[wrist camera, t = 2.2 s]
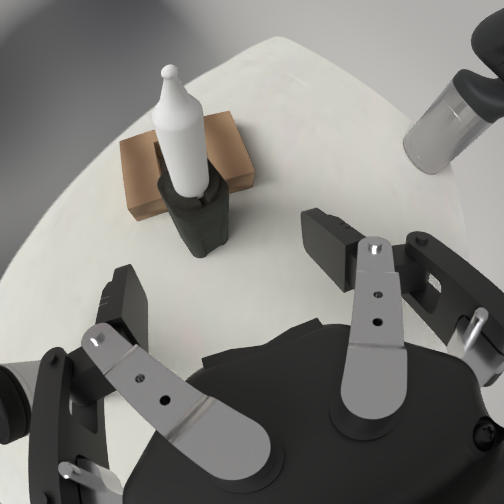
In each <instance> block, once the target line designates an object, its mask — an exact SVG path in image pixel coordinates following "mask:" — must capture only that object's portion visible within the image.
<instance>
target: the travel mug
mask: <svg viewBox="0 0 504 504" xmlns="http://www.w3.org/2000/svg"><path fill="white" fill-rule="evenodd" d="M40 361H41V360H38V361H29V362H19V363H7V364H0V444H2V445H6V444H8V443H11V442H13V441H15V440H18V439H19V438H22V437H26V436H28V435H30V423H31V413H32V405H33V398H34V392H35V386H36V380H37V375H38V370H39V365H40ZM104 397H105V396H104ZM69 409H70V413H71V415H72V401H71V400H70V404H69Z"/></svg>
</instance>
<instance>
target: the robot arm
mask: <svg viewBox="0 0 504 504" xmlns="http://www.w3.org/2000/svg"><path fill="white" fill-rule="evenodd" d="M471 45H472V49H473V51H474V52H475V54H476V55H477V56H478V57H479V59H480V60H481V61H482V62H483V63H484V64H485V65H486V66H487V67H489V68H490V69H491V70H492V71H493V72H494V73H495V74H496V75H497V76H498V77H499V78H497V79H491V78H486V77H483V76H481V75H479V74H476V73H474V72H472V71H470V70H466V69H462V70H460V71H459V72H458V73H457V74H456V75H455V76H454V78H453V79H452V80H451V81H450V83H449V84H448V85H447V86H446V88H445V89H444V90H443V92H442V93H441V94H440V95H439V97H438V98H437V99H436V100H435V102H434V103H433V104H432V105H431V106H430V108H429V109H428V110H427V111H426V112H425V114H424V115H423V116H422V117H421V118H420V120H419V121H418V122H417V123H416V124H415V125H414V127H413V128H412V129H411V130H410V131H409V133H408V134H407V135H406V136H405V138H404V141H403V144H404V148H405V151H406V153H407V155H408V157H409V158H410V160H411V161H412V162H413V163H414V164H415V165H416V166H417V167H418V168H419V169H420V170H422V171H424V172H425V173H428V174H436V173H437V172H439V171H440V170H441V169H442V168H443V167H445V166H446V165H447V164H448V163H449V162H451V161H452V160H453V159H454V158H455V157H456V156H458V155H459V154H460V153H461V152H462V151H463V150H464V149H466V148H467V147H468V146H469V145H470V144H471V143H472V142H474V141H475V140H476V139H477V138H478V137H479V136H480V135H481V134H482V133H483V132H484V131H485V130H486V129H488V128H489V127H490V126H491V125H492V124H493V123H494V122H495V121H496V120H498V119H499V118H502V117H504V8H503V9H501V10H499V11H497V12H495V13H494V14H492V15H490V16H488V17H487V18H485V19H484V20H483V21H482V22H481V23H480V24H479V25H478V26H477V27H476V29H475V30H474V32H473V34H472V38H471ZM301 226H302V237H303V244H304V248H305V250H306V252H307V253H308V254H309V255H310V257H311V258H312V259H313V260H314V261H315V262H316V263H317V264H318V265H319V266H320V267H321V268H322V269H323V271H324V272H325V273H326V274H327V275H328V276H329V277H330V278H331V279H332V280H333V281H334V282H335V284H336V285H337V286H338V287H339V288H340V289H341V290H342V291H343V292H344V293H345V292H347V291H350V290H352V289H354V290H355V294H354V304H353V313H352V322H351V326H350V325H344V324H327V325H322V324H321V322H320V321H319V319H318V318H315V319H313V320H310V321H308V322H305V323H303V324H300V325H298V326H295V327H292V328H290V329H288V330H287V331H285V332H284V333H282V334H281V335H279V336H277V337H276V338H274V339H273V340H271V341H269V342H268V343H266V344H264V345H260V346H253V347H245V348H237V349H230V350H227V351H224V352H220V353H217V354H214V355H211V356H207V357H204V358H202V363H203V368H201V369H199V370H198V371H196V372H195V373H194V374H192V375H191V376H190V377H189V378H188V379H187V380H186V381H184V380H182V379H181V378H180V377H178V376H177V375H175V374H174V373H173V372H171V371H170V370H169V369H167V368H166V367H165V366H163V365H162V364H161V363H159V362H158V361H157V360H156V359H154V358H153V357H152V356H151V355H149V353H148V301H147V297H146V294H145V291H144V289H143V287H142V285H141V283H140V281H139V279H138V277H137V275H136V273H135V271H134V269H133V267H132V265H131V264H128V265H125V266H122V267H119V268H116V269H115V270H114V275H113V279H112V281H111V282H108V283H107V285H106V286H105V288H104V289H103V291H102V295H101V300H100V304H99V305H100V306H99V309H98V313H97V318H96V323H95V325H94V326H92V327H91V328H89V329H88V330H87V331H86V332H85V334H84V335H83V337H82V341H81V345H82V346H81V347H80V348H78V349H76V350H74V351H72V352H71V353H69V354H67V353H66V352H65V351H64V349H63V348H61V347H55V348H52V349H50V350H49V351H48V352H46V354H45V355H44V356H43V357H42V359H41V361H40V365H39V370H38V375H37V380H36V386H35V392H34V398H33V405H32V413H31V423H30V435H29V457H28V473H29V495H30V503H31V504H504V428H503V427H501V426H500V425H498V424H497V423H495V422H494V421H493V420H492V419H491V417H490V416H489V414H488V412H487V410H486V407H485V405H484V402H483V399H482V395H481V391H480V388H481V387H482V386H483V387H488V386H490V385H492V384H493V383H494V382H495V381H496V380H497V379H498V377H499V376H500V375H501V374H502V372H503V371H504V293H503V292H502V291H501V290H500V289H499V288H498V287H497V286H495V285H494V284H493V283H492V282H491V281H490V280H489V279H487V278H486V277H485V276H484V275H482V274H481V273H480V272H479V271H478V270H476V269H475V268H474V267H473V266H472V265H470V264H469V263H468V262H467V261H465V260H464V259H463V258H462V257H460V256H459V255H458V254H456V253H455V252H454V251H452V250H451V249H450V248H448V247H447V246H446V245H444V244H443V243H442V242H440V241H439V240H437V239H436V238H435V237H433V236H432V235H430V234H428V233H425V232H420V231H415V232H411V233H409V234H408V235H407V237H406V244H401V245H394V246H391V244H390V242H388V241H387V240H385V239H383V238H380V237H365V236H364V235H362V234H361V233H359V232H358V231H357V230H355V229H354V228H353V227H351V226H350V225H348V224H347V223H345V222H344V221H343V220H341V219H340V218H339V217H335V216H332V215H327V214H325V213H324V212H322V211H321V210H320V209H318V208H313V209H310V210H306V211H303V212H301ZM430 273H431V274H432V275H433V276H434V277H435V278H436V279H437V280H438V281H439V282H440V284H441V293H440V292H439V291H438V290H437V289H436V288H434V287H433V286H432V285H431V284H430V283H429V282H428V279H429V275H430ZM401 296H402V298H403V299H404V300H405V301H406V302H407V303H408V304H409V305H410V306H411V307H412V308H413V309H414V310H415V311H416V313H417V314H418V315H419V316H420V317H421V318H422V319H423V320H424V321H425V322H426V324H427V325H428V326H429V327H430V328H431V329H432V330H433V331H434V333H435V334H436V335H437V336H438V337H439V338H440V340H441V341H442V342H443V343H444V344H445V345H446V347H447V352H448V354H446V353H443V352H439V351H435V350H432V349H428V348H425V347H421V346H417V345H414V344H411V343H407V342H404V332H403V313H402V299H401ZM116 390H117V391H118V392H119V393H120V394H121V395H122V396H123V397H124V398H125V399H126V400H127V402H128V403H129V404H130V405H131V406H132V407H133V408H134V409H135V410H136V411H137V412H138V413H139V414H140V415H141V416H142V417H143V418H144V419H145V420H146V421H147V422H149V423H150V424H151V425H152V426H153V427H154V428H155V429H156V431H155V432H154V434H153V436H152V438H151V439H150V441H149V443H148V445H147V447H146V448H145V450H144V452H143V454H142V455H141V457H140V459H139V461H138V462H137V464H136V466H135V468H134V470H133V471H132V473H131V475H130V477H129V478H128V480H127V482H126V484H125V486H124V489H123V487H122V486H121V483H120V480H119V478H118V477H117V476H116V475H115V474H114V473H113V472H112V471H110V469H109V462H108V453H107V444H106V432H105V416H104V396H106V395H108V394H110V393H112V392H114V391H116ZM70 400H71V401H72V415H71V413H70V409H69V404H70Z"/></svg>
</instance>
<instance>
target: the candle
mask: <svg viewBox="0 0 504 504" xmlns="http://www.w3.org/2000/svg"><path fill="white" fill-rule="evenodd" d="M178 72H179V71H178V68H177V67H176V66H174V65H167V66H165V67H164V68H163V69H162V71H161V75H162V77H163V78H164V82H163V87H162V92H161V97H160V101H159V102H158V104H157V105H156V107H155V109H154V111H153V114H152V122H153V125H154V128H155V132H156V135H157V138H158V141H159V144H160V147H161V150H162V153H163V156H164V160H165V163H166V166H167V168H168V171H167V172H165V173H164V174H162V175H161V176H160V177H159V179H158V182H157V188H158V190H159V192H160V195H161V197H162V199H163V201H164V203H165V205H166V207H167V209H168V211H169V214H170V216H171V218H172V220H173V222H174V224H175V226H176V228H177V230H178V232H179V234H180V236H181V238H182V239H183V241H184V242H185V244H186V245H187V247H188V249H189V250H190V252H191V253H192V255H193V256H195V257H197V258H204V257H206V254H207V253H209V252H210V251H212V250H214V249H215V248H217V247H218V246H220V245H221V244H222V245H224V244H225V243H226V242H227V240H228V210H229V186H228V184H227V182H226V181H225V180H224V178H223V177H222V176H221V175H220V173H219V172H218V171H217V169H216V168H215V167H214V165H213V164H212V163H211V162H210V160H209V159H208V158H207V153H206V142H205V131H204V119H203V109H202V105H201V104H200V102H199V101H198V100H197V99H196V98H194V97H193V96H192V95H190V94H188V93H187V91H186V89H185V88H184V86H183V85H182V83H181V81H180V80H179V78H178V76H177V75H178Z"/></svg>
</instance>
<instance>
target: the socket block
mask: <svg viewBox="0 0 504 504" xmlns="http://www.w3.org/2000/svg"><path fill="white" fill-rule="evenodd" d="M203 119H204V131H205V142H206V153H207V158H208V159H209V160H210V162H211V163H212V164H213V165H214V167H215V168H216V169H217V171H218V172H219V173H220V175H221V176H222V177H223V178H224V180H225V181H226V182H227V184H228V186H229V193H233V192H236V191H240V190H244V189H248V188H252V187H253V181H254V176H255V170H254V168H253V165H252V163H251V160H250V158H249V156H248V153H247V151H246V148H245V146H244V143H243V141H242V139H241V136H240V134H239V132H238V129H237V127H236V125H235V122H234V120H233V117H232V115H231V113H230V111H226V112H221V113H217V114H212V115H208V116H203ZM120 153H121V163H122V172H123V180H124V187H125V194H126V201H127V207H128V210H129V211H130V213H131V214H132V215H133V217H134V218H135V219H136V220H137V221H140V220H143V219H146V218H149V217H152V216H155V215H158V214H161V213H164V212H167V211H168V209H167V207H166V205H165V203H164V201H163V199H162V197H161V195H160V192H159V190H158V188H157V182H158V179H159V177H160V176H161V175H162V170H161V165H160V160H159V158H163V157H164V156H163V153H162V150H161V147H160V144H159V141H158V138H157V135H156V132H155V130H152V131H149V132H146V133H143V134H140V135H137V136H134V137H131V138H128V139H125V140H122V141H120Z"/></svg>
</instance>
